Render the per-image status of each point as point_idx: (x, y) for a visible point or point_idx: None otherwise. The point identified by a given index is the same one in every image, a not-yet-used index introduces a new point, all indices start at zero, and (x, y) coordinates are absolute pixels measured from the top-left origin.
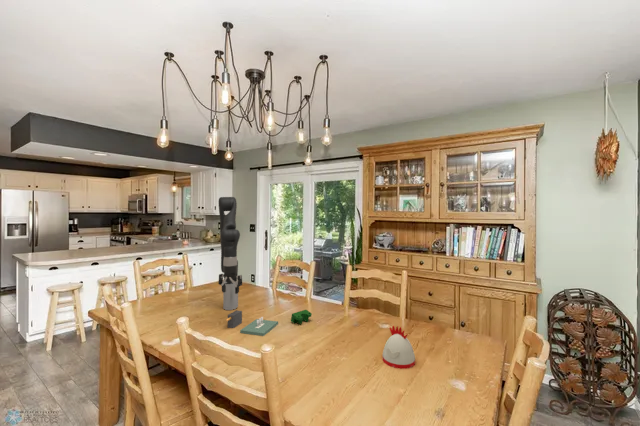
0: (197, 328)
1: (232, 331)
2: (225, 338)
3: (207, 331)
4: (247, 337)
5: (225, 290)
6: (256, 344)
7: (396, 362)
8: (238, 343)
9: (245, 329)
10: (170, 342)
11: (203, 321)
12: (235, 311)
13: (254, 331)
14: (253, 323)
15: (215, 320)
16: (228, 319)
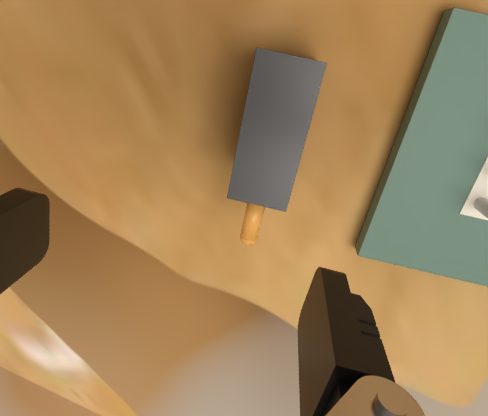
0: (60, 193)
1: (297, 226)
2: (291, 314)
3: (145, 232)
4: (414, 302)
5: (30, 205)
6: (478, 374)
7: None
8: None
9: (392, 244)
10: (57, 351)
11: (11, 62)
12: (261, 87)
13: (462, 272)
14: (436, 129)
15: (82, 27)
16: (256, 235)
